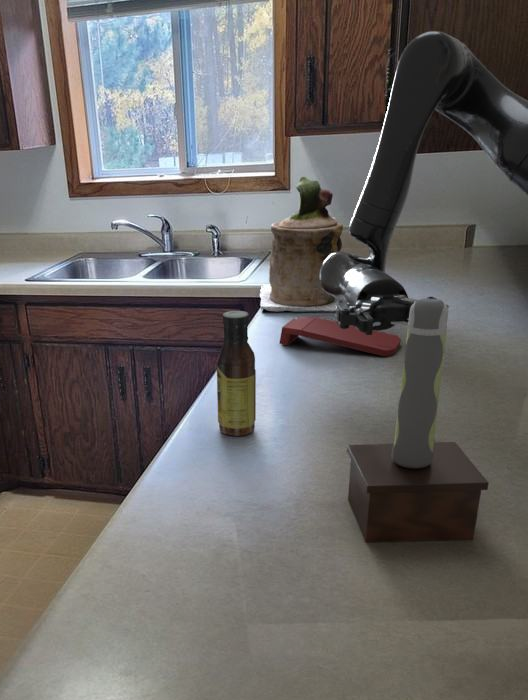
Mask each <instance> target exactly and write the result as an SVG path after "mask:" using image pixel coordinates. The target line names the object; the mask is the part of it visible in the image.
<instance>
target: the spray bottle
mask: <svg viewBox="0 0 528 700" xmlns="http://www.w3.org/2000/svg"><path fill="white" fill-rule="evenodd" d="M416 300H417V301H416V302H415V303H414V304H413V305H412V306H411V308H410V314H409V318H408V319H409V322H408V326H407V333H406V341H405V347H404V348H405V349H404V358H403V366H402V375H401V382H400V384H401V385H400V391H399V399H398V404H397V407H398V408H397V416H396V424H395V431H394V442H393V444H394V445H393V449H392V459H393V461H394V462H395V463H396V464H398V465H400V466H402V467H405V468H412V469H418V468H424V467H427V466H429V465H430V464H431V463H432V461H433V455H434V446H433V445H434V442H435V435H436V426H437V417H438V408H439V401H440V392H441V382H442V374H443V364H444V356H445V347H446V337H447V330H448V317H449V307H447V305H448V304H447V305H446V302H445V301H443V300H442V299H439V298H436V299H426V298H419V299H416Z"/></svg>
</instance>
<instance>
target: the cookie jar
mask: <svg viewBox="0 0 528 700" xmlns="http://www.w3.org/2000/svg"><path fill="white" fill-rule="evenodd" d="M295 188H296V190H297V192H298V193H299V199H300V204H299V209H298V211H295V212H293V213H292V214H290V216H288V217H286V218H284V219H283V220H280V221H277V222H273V223H272V224H271V225H270V231H271V233H272V239H271V240H272V242H271V245H272V248H271V254H270V257H269V273H268V282H269V284H266V285H265V284H264V285H261V287H260V290H259V298H260V302H259V306H260V309H261V311H263V310H266V311H269V312H284V311H289V312H301V313H303V312H304V313H305V312H332V313H333V312H335V313H336V304H337V301H339V299H337V298H335V297H333V296H331V295H329V294H327V293H326V292H325V291H324V290H323V288H322V286H321V284H320V269H321V266H322V264H323V262H324V261H325V259H326V258H327V257H328V256H329V255H331V254H332V253H334V252H338V251H341V250H342V247H343V242H342V238H341V236H342V234H343V230H344V226H343V223H340V222H339V220H338V219H337V218H336V217H333V216H331V215H330V213H329V210H328V208H326V207H328V206H330V205H332V201H333V196H334V195H333V192H332V191H331V190H329V189H325V188H321V184H320V182H319V181H318V180H310V179H308V178H307V177H306V176H301V177H300V178H299V182H298V184H297V185H296V187H295Z"/></svg>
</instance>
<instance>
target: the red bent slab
mask: <svg viewBox="0 0 528 700" xmlns="http://www.w3.org/2000/svg"><path fill="white" fill-rule="evenodd" d="M299 337H303V338H306V339H307V338H308V339H311V340H315V341H319V342H322V343H323V342H324V343H328V344H332V345H337V346H340V347H345V348H348V349H353V350H357V351H361V352H363V353H364V352H365V353H369V354H373V355H377V356H381V357H390V356H393V355H394V354H395V353H396V352H397V350H398V349H399V348H400V346H401V344H402V339H401V338H400V337H399V336H398V335H397V334H392V333H389V332H384V331H376V330H373V332H372V335H366V334H365V333H364V332H361V331H359V330H357V329H355V328H354V325H349V328H346V329H343V328H340V326H339V324H338V322H337V320H332V319H327V318H324V317H319V316H302V317H301V316H298V317H297V318H292V319H290V320H289V321H288V322H287V323H286V324H284V325H283V326H281V332H280V338H279V344H280V345H284V346H289V345H290V344H291V343H293V342H294V341H295V340H296V339H297V338H299Z"/></svg>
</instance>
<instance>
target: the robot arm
mask: <svg viewBox="0 0 528 700" xmlns="http://www.w3.org/2000/svg"><path fill="white" fill-rule="evenodd" d="M396 66H397V67H396V69H395V74H394V78H393V83H392V88H391V91H390V97H389V102H388V106H387V111H386V113H385V117H384V121H383V126H382V129H381V132H380V133H381V134H380V137H379V140H378V145H377V147H376V151H375V154H374V156H373V161H372V163H371V166H370V169H369V172H368V175H367V178H366V180H365V182H364V186H363V189H362V191H361V194H360V196H359V198H358V200H357V203H356V206H355V209H354V211H353V215H352V217H351V220H350V222H349V227H348V233H349V235H350V237H351V238H353V239H354V240H356V241H357V242H360V243H362V244H363V245H365V246H366V247H368V249H369V254H368V257H364V256H361V255H357V254H353V253H351V252H347V251H341V250H340V251H338V252H334V253H332V254H331V255H329V256H328V257H327V258H326V259H325V261H324V262H323V264H322V266H321V269H320V284H321V286H322V288H323V290H324V291H325V292H326V293H327V294H329V295H331V296H333V297H335V298H337V299H339V301H337V304H336V312H335V321H337V322H338V324H339V326H340V328H343V329H346V328H349V325H354V328H355V329H357V330H359V331H361V332H364V333H365V334H366V335H372V332H373V330H375V331H380V332H382V331H386V330H389V329H391V328H393V327H395V326H399V325H402V326H407V327H408V322H409V314H410V308H411V306H412V305H413V304H414V303H415V302H416V301H417V300H418V299H416V298H410V297H409V296H408V293H407V291H406V289H405V287H404V286H403V285H402V284H401V283H400V282H399V281H398V280H396V279H395V278H394V277H392V276H391V275H389V273H386V265H387V258H388V253H389V250H390V249H389V248H390V243H391V240H392V237H393V234H394V231H395V229H396V227H397V224H398V223H399V219H400V217H401V215H402V212H403V209H404V207H405V205H406V202H407V198H408V195H409V193H410V190H411V189H410V188H411V183H412V179H413V173H414V167H415V163H416V157H417V153H418V150H419V147H420V143H421V140H422V137H423V134H424V131H425V130H426V127H427V125H428V123H429V121H430V119H431V117H432V115H433V113H434V111H436V112H437V113H439V114H441V115H443V116H444V117H446V118H447V119H449V120H451V121H452V122H453V123H455V124H456V125H458V126H459V127H460V128H462V129H463V130H464V131H465V132H466V133H468V134H469V135H470V136H471V137H472V138H473V139H474V140H475V141H476V142H477V144H478V145H479V146H480V148H481V149H482V150H483V153H485V154H486V156H487V158H489V160H490V161H491V162H492V164H493V165H494V166H495V167H496V169H498V171H499V172H500V173H501V174H502V175H503V176H504V177H505V178H506V179H507V180H508V181H509V182H511V183H512V184H513V185H514V186H515V187H516V188H518V190H520V191H521V192H522V193H523V194H524V195H526V196H527V197H528V99H526V98H524V97H522V96H521V95H519V94H517V93H515V92H514V91H512V90H511V89H509V88H508V87H507V86H505V85H504V84H503V83H502V82H501V81H500V80H499V79H498V78H497V77H496V76H495V75H494V74H493V73H492V72H491V71H490V70H488V69H487V67H486V66H485V65H484V64H483V63H482V62H481V61H480V60H479V59H478V58H477V57H476V55H475V54H474V53H473V52H472V51H471V50H470V48H468V46H467V45H466V44H465V43H464V42H463V41H461V40H459V39H457V38H456V37H453V36H452V35H450V34H448V33H446V32H443V31H438V30H430V31H429V30H428V31H426V32H423V33H421V34H418V35H417V36H416V37H414V38H413V39H412V40H411V41H410V42H409V43H408V44H407V45H406V46H405V48H404V49H403V52H402V53H401V54H400V57H399V60H398V63H397V65H396ZM425 299H437V297H434V296H427V297H426V298H425ZM445 304H446V303H445ZM446 305H447V307H448V308H449V305H448V304H446Z"/></svg>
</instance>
